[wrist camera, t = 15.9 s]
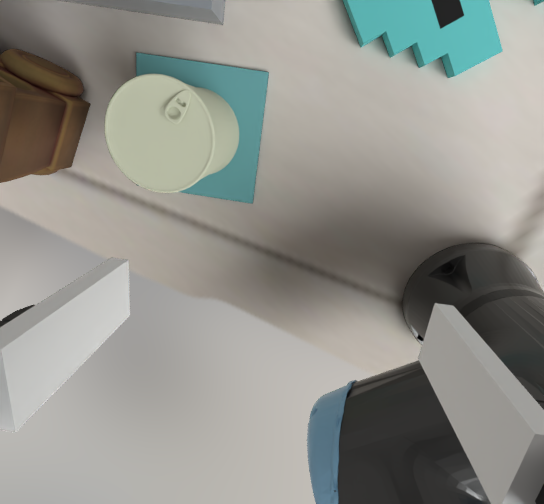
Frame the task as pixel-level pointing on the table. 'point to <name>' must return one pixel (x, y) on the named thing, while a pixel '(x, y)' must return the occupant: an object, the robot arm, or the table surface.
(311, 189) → the table surface
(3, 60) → the wooden toy train
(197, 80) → the mat
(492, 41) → the alien figure
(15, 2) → the table surface
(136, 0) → the crate
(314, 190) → the table surface
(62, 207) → the table surface
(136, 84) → the can
